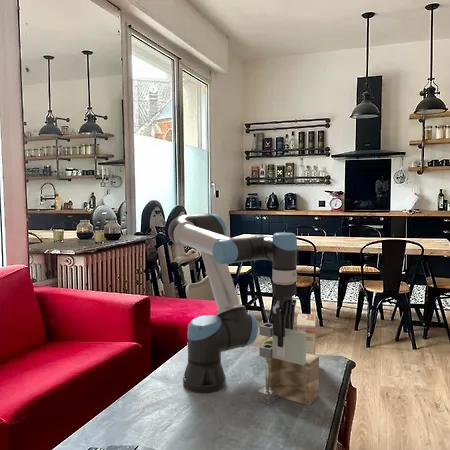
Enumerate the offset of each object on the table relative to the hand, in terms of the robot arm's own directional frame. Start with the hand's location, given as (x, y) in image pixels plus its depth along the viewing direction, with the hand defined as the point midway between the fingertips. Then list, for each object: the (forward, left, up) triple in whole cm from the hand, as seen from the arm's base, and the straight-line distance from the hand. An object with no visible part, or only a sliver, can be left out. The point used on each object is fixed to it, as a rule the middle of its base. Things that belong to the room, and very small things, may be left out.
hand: (283, 354), depth 144 cm
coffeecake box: (-6, +30, -17) cm, 34 cm away
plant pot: (-17, +26, -17) cm, 35 cm away
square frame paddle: (0, 0, -1) cm, 1 cm away
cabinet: (0, +5, -16) cm, 17 cm away
